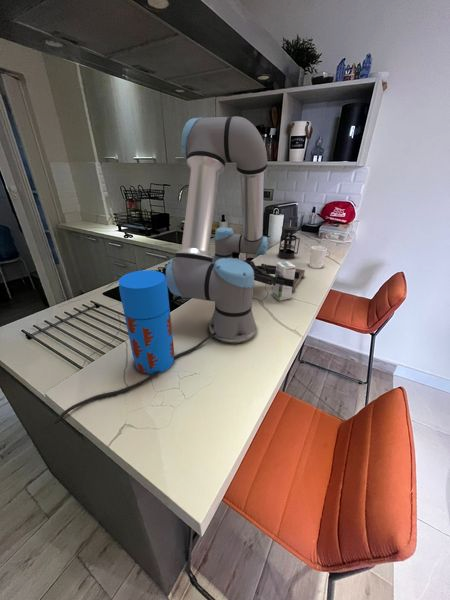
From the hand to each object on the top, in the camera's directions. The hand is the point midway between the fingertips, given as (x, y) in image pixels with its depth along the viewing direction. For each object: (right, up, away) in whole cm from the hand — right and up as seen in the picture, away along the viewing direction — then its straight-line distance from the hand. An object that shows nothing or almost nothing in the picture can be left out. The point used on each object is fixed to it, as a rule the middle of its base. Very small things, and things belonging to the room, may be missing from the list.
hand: (296, 279), depth 100 cm
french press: (+9, +17, +51) cm, 55 cm away
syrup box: (-4, -7, +6) cm, 10 cm away
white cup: (+21, +10, +38) cm, 45 cm away
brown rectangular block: (+3, 0, +19) cm, 19 cm away
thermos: (-47, -25, -28) cm, 61 cm away
